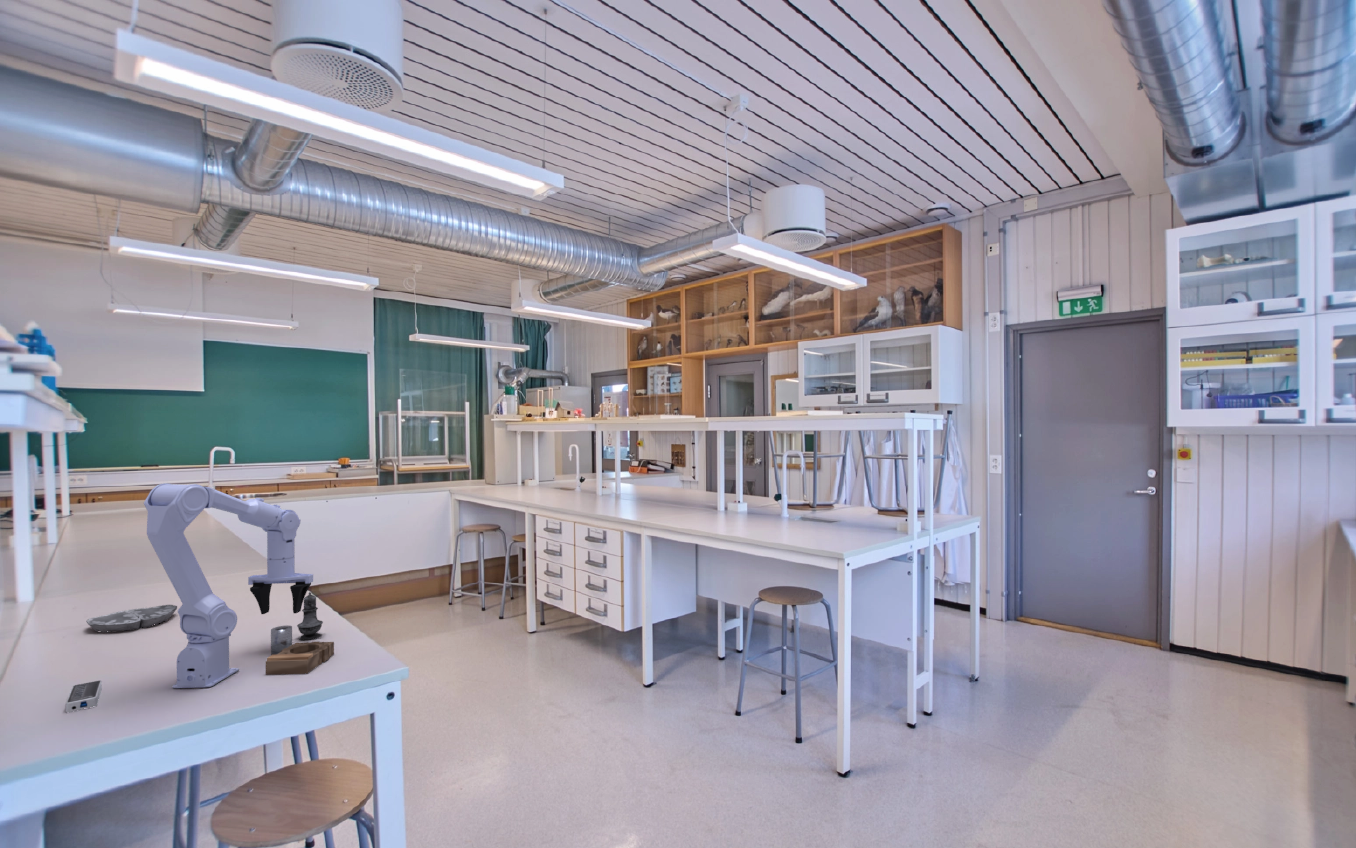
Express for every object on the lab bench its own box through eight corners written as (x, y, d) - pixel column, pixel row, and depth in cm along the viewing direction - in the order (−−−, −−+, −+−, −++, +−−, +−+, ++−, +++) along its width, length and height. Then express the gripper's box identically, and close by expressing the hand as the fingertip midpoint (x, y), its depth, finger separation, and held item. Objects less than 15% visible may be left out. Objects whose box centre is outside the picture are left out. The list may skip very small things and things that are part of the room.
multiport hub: (101, 690, 132) (101, 679, 132) (96, 708, 124) (96, 697, 124) (73, 696, 129) (72, 685, 129) (65, 715, 121) (65, 703, 121)
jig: (309, 673, 139) (309, 657, 139) (263, 675, 139) (263, 658, 139) (337, 653, 152) (337, 638, 152) (295, 654, 151) (294, 639, 151)
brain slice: (95, 641, 163) (95, 630, 163) (81, 629, 173) (81, 618, 173) (187, 622, 179) (187, 611, 179) (170, 612, 189) (169, 602, 189)
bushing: (285, 655, 151) (285, 631, 151) (267, 656, 150) (266, 631, 150) (295, 649, 155) (295, 625, 155) (277, 649, 155) (277, 625, 155)
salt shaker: (293, 642, 160) (293, 595, 160) (301, 635, 166) (300, 589, 166) (319, 640, 162) (319, 593, 162) (325, 632, 167) (325, 588, 167)
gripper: (319, 554, 159) (319, 607, 159) (260, 555, 158) (260, 608, 158) (304, 559, 152) (304, 615, 151) (242, 561, 151) (242, 617, 151)
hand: (281, 612), depth 154 cm, fingers open, 7 cm apart
